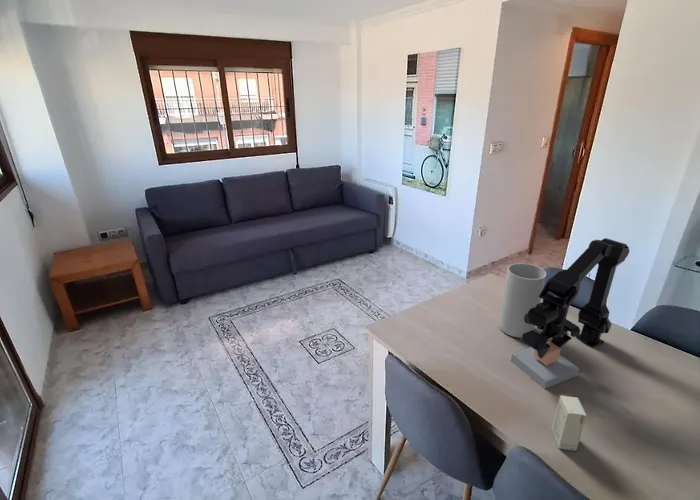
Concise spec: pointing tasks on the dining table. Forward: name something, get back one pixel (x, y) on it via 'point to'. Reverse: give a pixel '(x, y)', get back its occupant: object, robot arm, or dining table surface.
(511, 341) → the dining table surface
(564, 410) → the skincare box
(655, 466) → the dining table surface
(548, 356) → the terracotta cube
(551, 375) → the slate base
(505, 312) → the cylinder vase
